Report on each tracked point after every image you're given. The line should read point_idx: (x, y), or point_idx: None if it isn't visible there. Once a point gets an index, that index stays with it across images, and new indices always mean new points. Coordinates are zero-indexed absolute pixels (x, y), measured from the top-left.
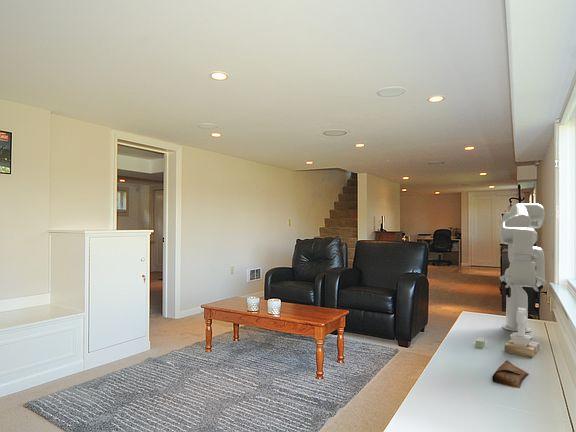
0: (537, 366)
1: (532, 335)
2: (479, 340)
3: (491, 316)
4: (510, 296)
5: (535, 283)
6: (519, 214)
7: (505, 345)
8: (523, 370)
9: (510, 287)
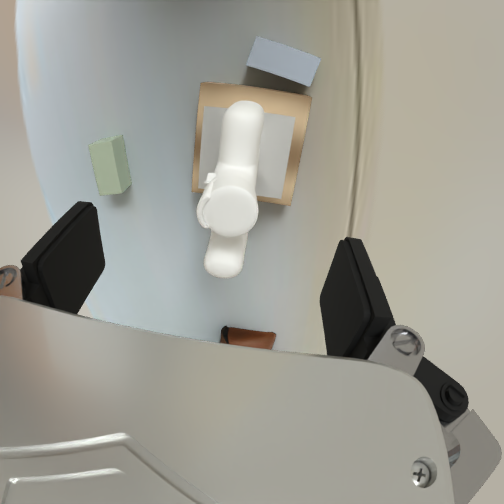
0: (298, 274)
1: (293, 117)
2: (108, 186)
3: None
4: (96, 224)
5: (415, 383)
6: None
7: (194, 191)
8: (265, 346)
9: (34, 271)
